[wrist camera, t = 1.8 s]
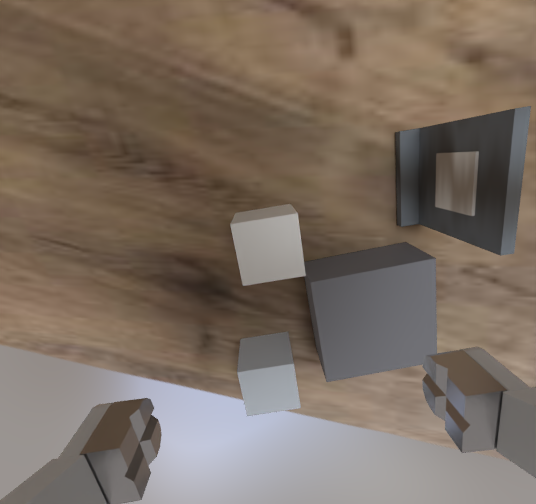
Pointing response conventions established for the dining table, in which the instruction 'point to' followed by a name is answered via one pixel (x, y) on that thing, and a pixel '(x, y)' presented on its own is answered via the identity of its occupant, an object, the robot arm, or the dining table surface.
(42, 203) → the dining table surface
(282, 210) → the ivory cube
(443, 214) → the standing grey panel
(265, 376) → the grey blue cube
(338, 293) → the base block
